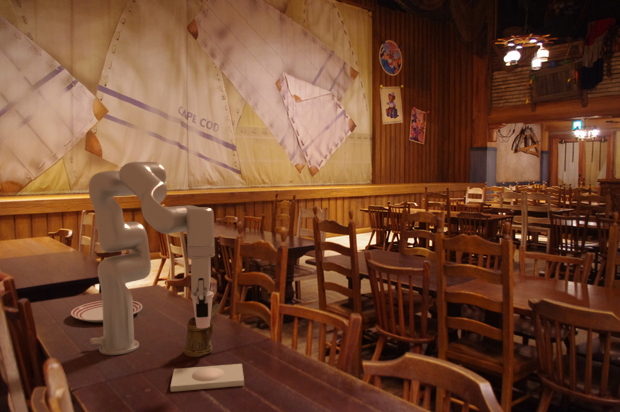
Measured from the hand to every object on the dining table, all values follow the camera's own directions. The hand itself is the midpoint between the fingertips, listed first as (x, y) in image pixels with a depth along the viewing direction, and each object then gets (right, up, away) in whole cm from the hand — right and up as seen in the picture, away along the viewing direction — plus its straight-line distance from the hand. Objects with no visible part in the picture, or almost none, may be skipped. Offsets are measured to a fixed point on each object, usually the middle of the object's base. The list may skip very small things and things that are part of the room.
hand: (202, 312), depth 145 cm
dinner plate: (-53, -15, +65) cm, 85 cm away
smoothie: (0, -4, 0) cm, 4 cm away
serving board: (+1, -20, +2) cm, 20 cm away
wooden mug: (-5, -18, +22) cm, 29 cm away
